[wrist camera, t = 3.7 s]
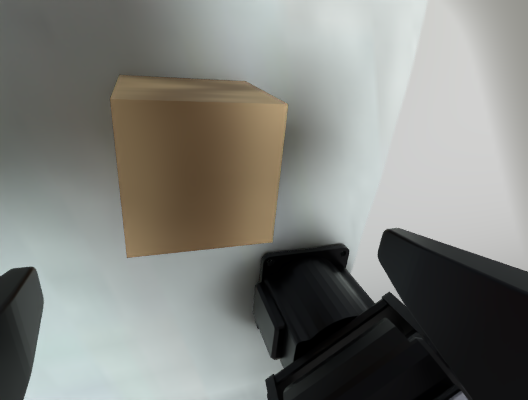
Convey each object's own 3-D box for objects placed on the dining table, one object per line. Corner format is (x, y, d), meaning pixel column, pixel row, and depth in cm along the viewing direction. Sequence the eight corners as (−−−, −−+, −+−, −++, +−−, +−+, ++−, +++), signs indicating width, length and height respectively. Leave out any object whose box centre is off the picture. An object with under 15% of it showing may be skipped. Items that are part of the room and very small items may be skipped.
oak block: (245, 81, 18) (288, 104, 13) (238, 187, 20) (272, 242, 15) (119, 74, 16) (110, 99, 11) (130, 192, 18) (126, 257, 13)
